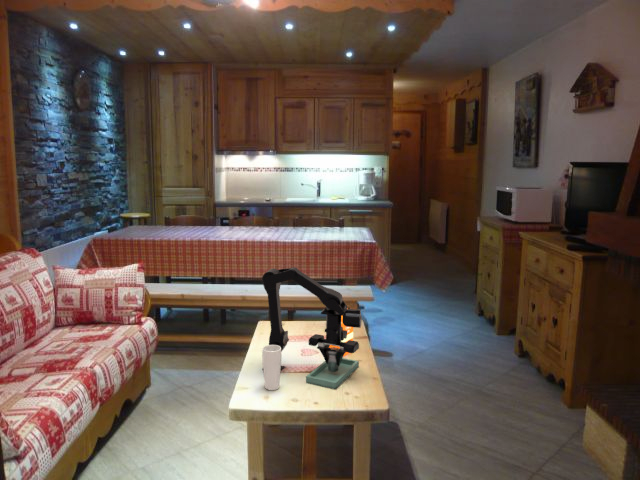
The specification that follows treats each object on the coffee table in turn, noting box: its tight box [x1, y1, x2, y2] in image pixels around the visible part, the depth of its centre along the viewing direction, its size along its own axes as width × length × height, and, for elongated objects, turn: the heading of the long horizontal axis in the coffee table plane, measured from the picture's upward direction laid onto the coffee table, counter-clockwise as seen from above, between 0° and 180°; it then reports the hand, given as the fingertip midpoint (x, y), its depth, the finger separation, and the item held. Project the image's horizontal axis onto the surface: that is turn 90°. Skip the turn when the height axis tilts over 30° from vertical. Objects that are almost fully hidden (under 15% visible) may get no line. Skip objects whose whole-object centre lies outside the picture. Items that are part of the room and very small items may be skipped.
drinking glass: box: [261, 344, 282, 391], centre depth 184 cm, size 7×7×15 cm
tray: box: [305, 357, 360, 390], centre depth 196 cm, size 22×12×2 cm, turn 154°
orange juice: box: [329, 308, 354, 357], centre depth 217 cm, size 8×9×20 cm
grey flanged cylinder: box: [327, 347, 339, 372], centre depth 195 cm, size 5×5×8 cm
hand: (333, 364), depth 195 cm, fingers closed on grey flanged cylinder, 4 cm apart
